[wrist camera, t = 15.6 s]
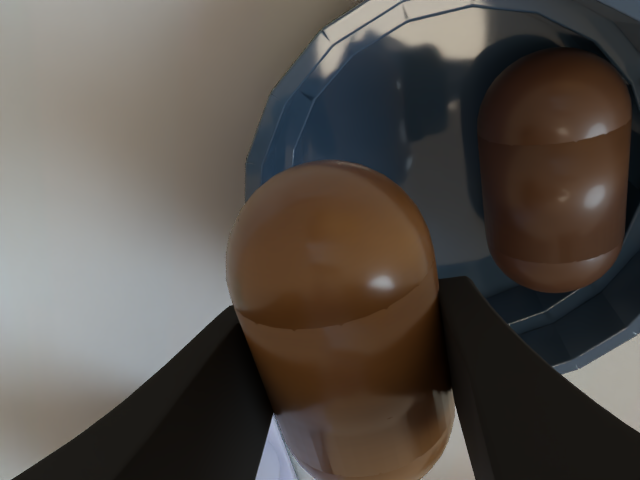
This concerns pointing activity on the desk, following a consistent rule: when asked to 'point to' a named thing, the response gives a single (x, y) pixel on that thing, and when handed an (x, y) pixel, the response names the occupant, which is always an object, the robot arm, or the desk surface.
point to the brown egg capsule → (344, 320)
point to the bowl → (456, 138)
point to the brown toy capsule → (555, 168)
